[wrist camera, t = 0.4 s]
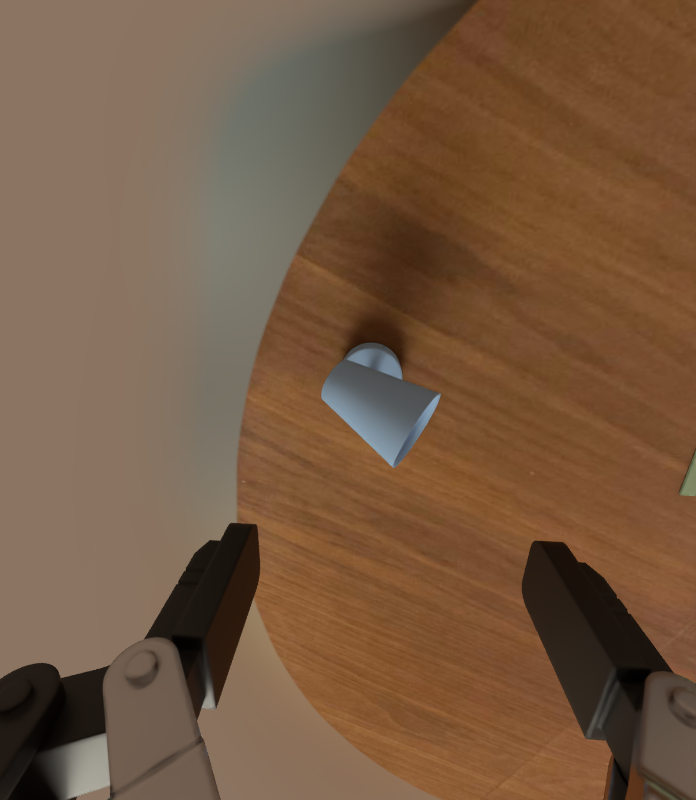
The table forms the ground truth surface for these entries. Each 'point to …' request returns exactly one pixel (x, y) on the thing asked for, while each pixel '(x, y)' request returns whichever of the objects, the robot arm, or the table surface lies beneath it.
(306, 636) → the table surface
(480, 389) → the table surface
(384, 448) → the spotlight
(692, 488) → the mat
